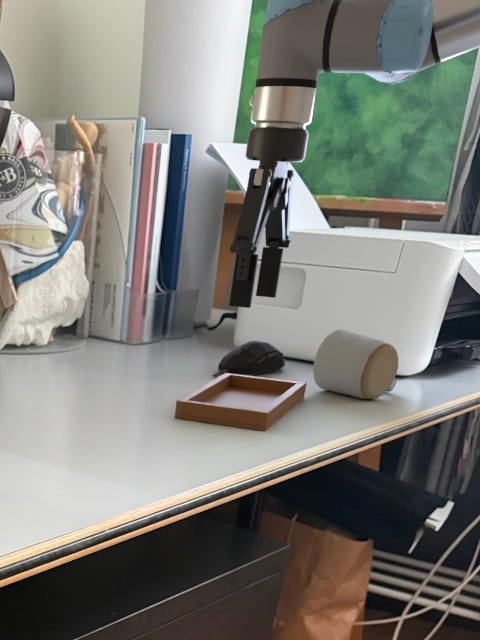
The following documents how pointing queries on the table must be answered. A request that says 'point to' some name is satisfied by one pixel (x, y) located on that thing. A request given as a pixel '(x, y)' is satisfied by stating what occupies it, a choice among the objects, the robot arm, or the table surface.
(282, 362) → the gaming mouse
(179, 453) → the table surface
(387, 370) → the ceramic mug
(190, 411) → the wooden tray
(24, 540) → the table surface
